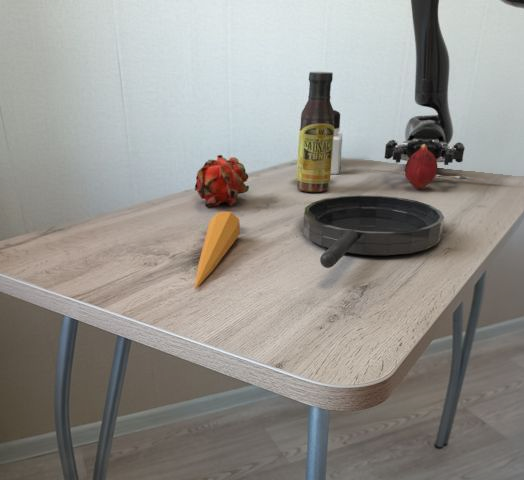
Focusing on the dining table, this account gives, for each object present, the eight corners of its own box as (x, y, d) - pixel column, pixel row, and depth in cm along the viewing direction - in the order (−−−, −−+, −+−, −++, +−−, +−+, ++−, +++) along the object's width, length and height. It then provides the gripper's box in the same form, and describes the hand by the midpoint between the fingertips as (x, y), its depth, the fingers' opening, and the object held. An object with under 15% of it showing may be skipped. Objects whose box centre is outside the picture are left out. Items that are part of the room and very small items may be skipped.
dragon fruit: (245, 204, 101) (210, 231, 92) (209, 173, 101) (171, 198, 92) (266, 169, 95) (231, 195, 86) (229, 136, 94) (190, 159, 86)
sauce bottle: (300, 194, 100) (303, 73, 91) (293, 186, 106) (295, 71, 96) (334, 193, 101) (342, 72, 92) (326, 185, 107) (332, 70, 97)
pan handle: (345, 240, 71) (346, 227, 70) (359, 242, 70) (360, 228, 69) (317, 268, 62) (318, 253, 62) (332, 271, 62) (333, 255, 61)
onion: (438, 192, 101) (445, 147, 97) (408, 193, 101) (413, 147, 97) (428, 185, 106) (434, 141, 102) (398, 186, 106) (403, 142, 102)
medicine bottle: (340, 167, 121) (344, 108, 115) (338, 174, 115) (342, 112, 109) (308, 166, 122) (310, 108, 116) (304, 173, 116) (306, 112, 110)
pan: (449, 225, 83) (452, 202, 82) (426, 268, 68) (430, 240, 66) (328, 212, 90) (329, 190, 89) (283, 247, 75) (283, 222, 73)
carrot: (220, 241, 80) (206, 213, 78) (248, 230, 79) (235, 202, 76) (186, 312, 64) (167, 279, 62) (220, 301, 62) (202, 267, 60)
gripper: (392, 122, 112) (384, 134, 99) (465, 124, 109) (467, 137, 95) (388, 160, 116) (380, 177, 103) (459, 164, 112) (460, 181, 99)
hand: (422, 157), depth 99 cm, fingers open, 8 cm apart
